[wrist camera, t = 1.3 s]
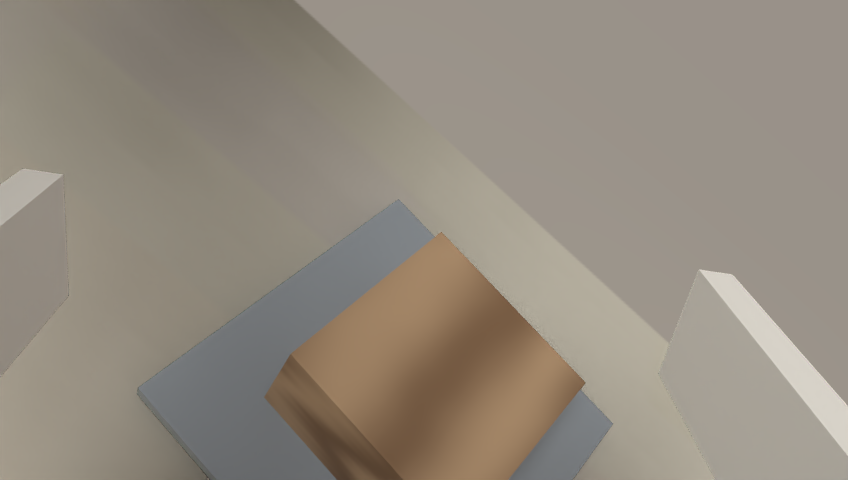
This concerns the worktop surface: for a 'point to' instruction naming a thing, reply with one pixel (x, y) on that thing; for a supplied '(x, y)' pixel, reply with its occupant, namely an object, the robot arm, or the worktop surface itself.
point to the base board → (281, 335)
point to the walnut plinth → (425, 378)
